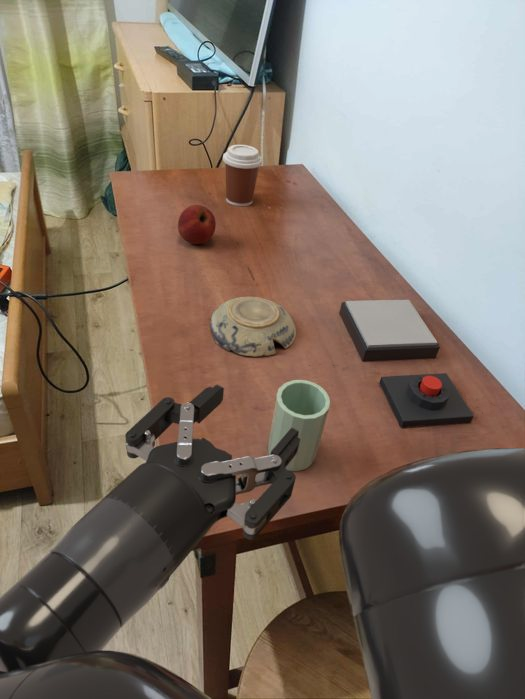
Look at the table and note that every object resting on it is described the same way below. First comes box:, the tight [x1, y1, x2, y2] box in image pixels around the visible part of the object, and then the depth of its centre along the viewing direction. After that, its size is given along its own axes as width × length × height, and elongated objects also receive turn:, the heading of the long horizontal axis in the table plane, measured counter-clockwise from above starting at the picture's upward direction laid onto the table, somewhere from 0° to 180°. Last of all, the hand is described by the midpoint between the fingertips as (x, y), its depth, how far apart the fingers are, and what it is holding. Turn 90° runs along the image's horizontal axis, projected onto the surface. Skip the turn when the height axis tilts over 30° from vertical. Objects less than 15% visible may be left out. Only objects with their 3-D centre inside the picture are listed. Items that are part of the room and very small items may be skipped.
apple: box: [177, 204, 217, 245], centre depth 103 cm, size 7×8×8 cm
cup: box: [267, 379, 331, 472], centre depth 63 cm, size 6×6×10 cm
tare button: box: [420, 376, 442, 396], centre depth 74 cm, size 3×3×2 cm
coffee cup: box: [222, 144, 263, 207], centre depth 119 cm, size 9×9×12 cm
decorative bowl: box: [209, 295, 297, 358], centre depth 84 cm, size 15×4×15 cm
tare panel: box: [378, 372, 475, 428], centre depth 75 cm, size 11×9×3 cm
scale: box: [338, 299, 441, 362], centre depth 87 cm, size 13×13×3 cm
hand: (256, 412), depth 48 cm, fingers open, 8 cm apart
